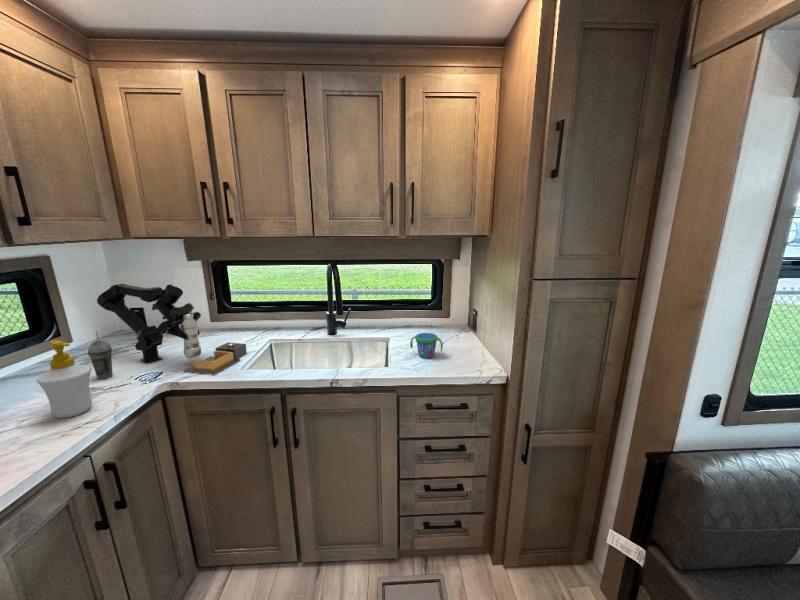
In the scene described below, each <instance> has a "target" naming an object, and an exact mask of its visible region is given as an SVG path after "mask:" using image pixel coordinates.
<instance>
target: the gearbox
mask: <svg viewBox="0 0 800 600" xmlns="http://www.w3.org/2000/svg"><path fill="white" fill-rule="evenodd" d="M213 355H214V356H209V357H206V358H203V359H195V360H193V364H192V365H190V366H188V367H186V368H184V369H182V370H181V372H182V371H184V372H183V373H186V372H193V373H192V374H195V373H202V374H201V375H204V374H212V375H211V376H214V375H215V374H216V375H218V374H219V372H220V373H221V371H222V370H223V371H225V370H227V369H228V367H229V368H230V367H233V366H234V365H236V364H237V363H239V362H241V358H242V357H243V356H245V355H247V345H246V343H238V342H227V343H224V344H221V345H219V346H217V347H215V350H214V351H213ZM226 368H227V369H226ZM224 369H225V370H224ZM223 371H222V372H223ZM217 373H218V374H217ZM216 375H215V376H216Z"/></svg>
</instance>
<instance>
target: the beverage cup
mask: <svg viewBox="0 0 800 600" xmlns="http://www.w3.org/2000/svg"><path fill="white" fill-rule="evenodd" d="M95 335H96V341H94V342H92V343H91V344H90V345H89V346H88V347H87V348H88V349H87V354H88V356H89V358H90V360H91V363H92V366H93V370H94V372H95V375H96V377H97V379H98V380H99V381H100V380H101V381H102V380H104V381H105V380H107V379H110V378H112V377H113V363H112V352H113V351H112V349H113V348H112V347H111V344H110V343H109V342H107V341H105V340H100V337H99V332H98V330H95Z"/></svg>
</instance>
